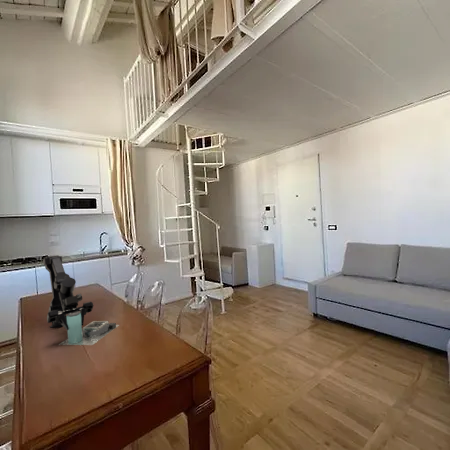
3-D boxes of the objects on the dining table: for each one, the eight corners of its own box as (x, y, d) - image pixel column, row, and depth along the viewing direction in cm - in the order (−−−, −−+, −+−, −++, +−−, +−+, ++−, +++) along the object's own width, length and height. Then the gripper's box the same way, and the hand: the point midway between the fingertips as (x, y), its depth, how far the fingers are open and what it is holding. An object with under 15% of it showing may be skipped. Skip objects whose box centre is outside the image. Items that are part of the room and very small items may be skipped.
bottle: (65, 343, 119) (63, 315, 118) (74, 337, 124) (72, 310, 124) (76, 343, 118) (74, 315, 118) (85, 337, 123) (83, 310, 123)
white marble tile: (58, 346, 118) (57, 336, 118) (90, 326, 140) (89, 318, 140) (92, 347, 115) (92, 336, 115) (119, 326, 137) (119, 317, 137)
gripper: (46, 294, 117) (53, 324, 109) (90, 285, 130) (100, 311, 122) (44, 308, 123) (50, 337, 115) (87, 298, 136) (95, 324, 128)
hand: (75, 327), depth 120 cm, fingers closed on bottle, 6 cm apart
